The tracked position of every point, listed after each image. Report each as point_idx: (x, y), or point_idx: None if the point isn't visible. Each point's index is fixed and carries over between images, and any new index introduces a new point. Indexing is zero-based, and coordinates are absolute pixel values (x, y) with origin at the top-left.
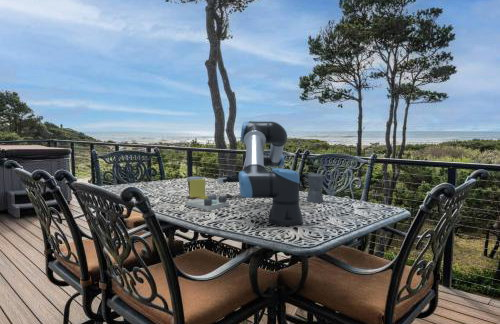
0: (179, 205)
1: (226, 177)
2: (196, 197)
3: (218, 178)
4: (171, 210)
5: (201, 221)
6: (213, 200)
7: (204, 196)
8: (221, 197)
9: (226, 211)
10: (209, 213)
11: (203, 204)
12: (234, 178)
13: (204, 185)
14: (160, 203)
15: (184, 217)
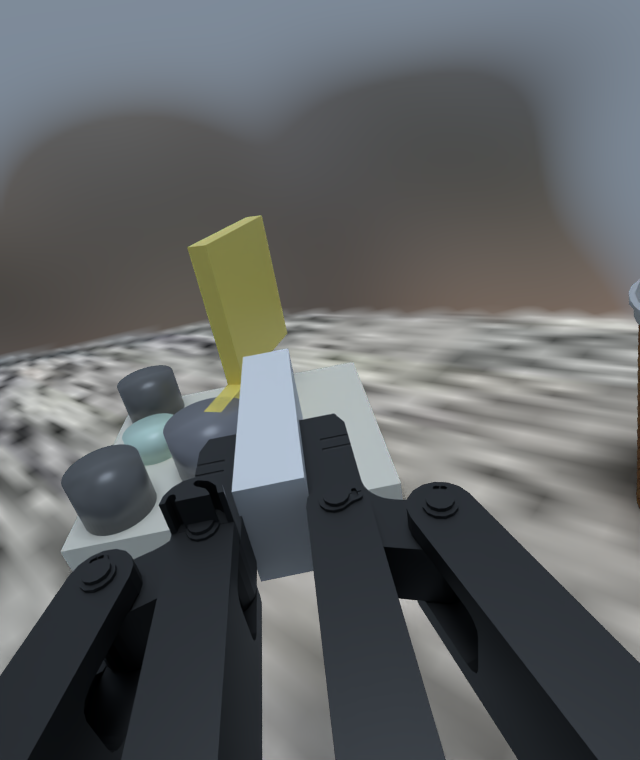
0: (375, 367)
1: (330, 539)
2: (637, 499)
3: (280, 361)
4: (295, 337)
5: (56, 368)
6: (146, 425)
7: (231, 383)
8: (93, 454)
9: (14, 479)
10: (94, 411)
11: (194, 401)
12: (5, 686)
13: (206, 299)
14: (491, 326)
15: (154, 348)
